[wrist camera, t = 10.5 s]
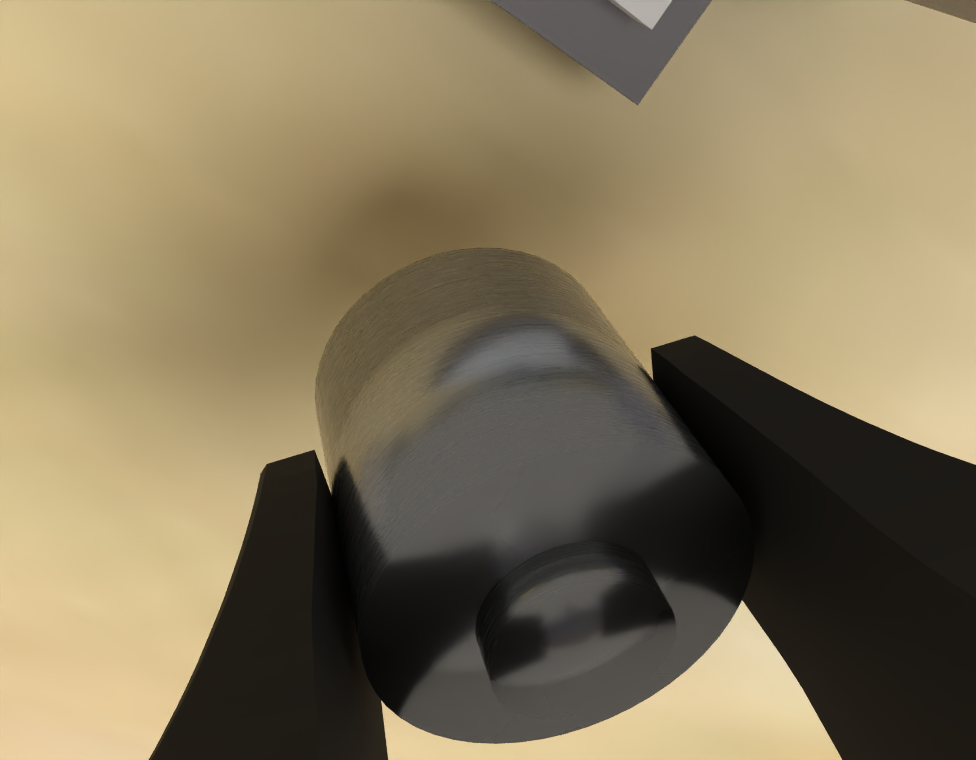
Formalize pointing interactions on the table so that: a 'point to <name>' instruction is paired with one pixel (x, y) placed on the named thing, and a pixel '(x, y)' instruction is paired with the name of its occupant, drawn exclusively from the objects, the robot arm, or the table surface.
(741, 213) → the table surface
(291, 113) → the table surface
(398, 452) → the cylinder
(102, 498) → the table surface
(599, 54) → the scale
